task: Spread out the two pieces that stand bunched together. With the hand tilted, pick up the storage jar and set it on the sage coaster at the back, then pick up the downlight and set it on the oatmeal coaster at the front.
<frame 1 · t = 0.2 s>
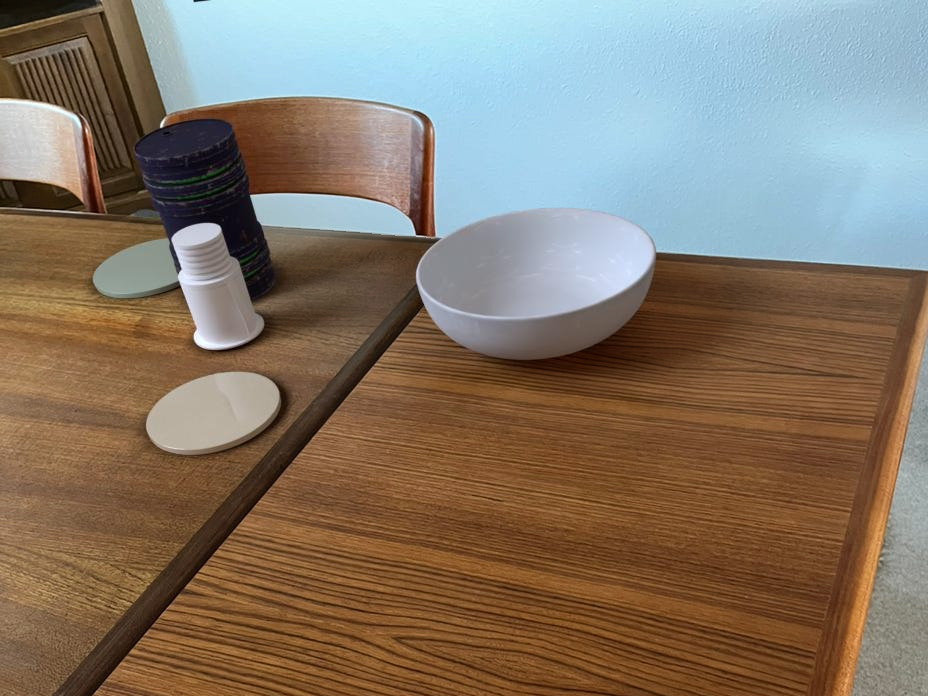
far coaster: (152, 269, 108), on the table
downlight: (230, 335, 96), on the table
near coaster: (215, 414, 86), on the table
serving bowl: (540, 330, 89), on the table
storage jar: (232, 287, 103), on the table
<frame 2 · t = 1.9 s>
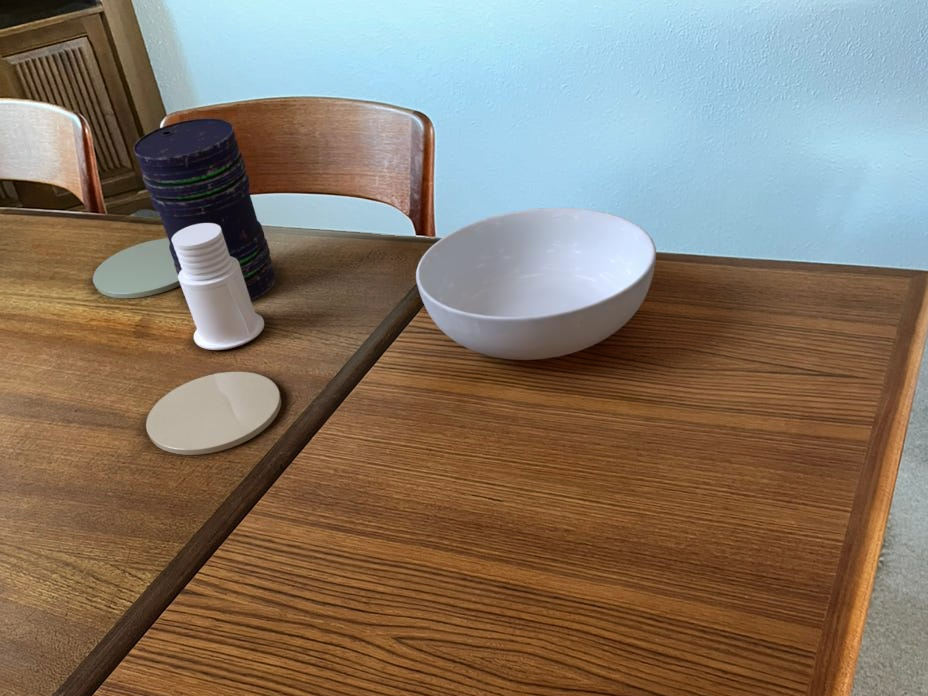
nothing on the table moved.
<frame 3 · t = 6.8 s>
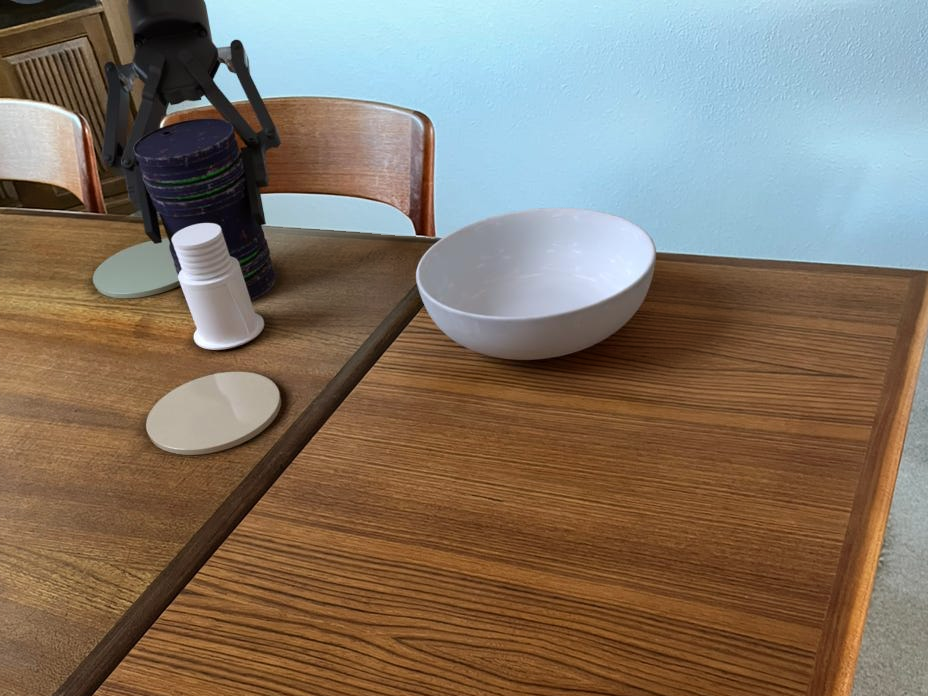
hand: (206, 228, 95), 7 cm above the table, tool tilted 45°, fingers closed on storage jar, 10 cm apart
storage jar: (232, 287, 103), on the table, touching gripper
everything else where it was.
when the fingers open (8 cm above the table, at t = 15.2 s): storage jar stays where it is, resting on far coaster.
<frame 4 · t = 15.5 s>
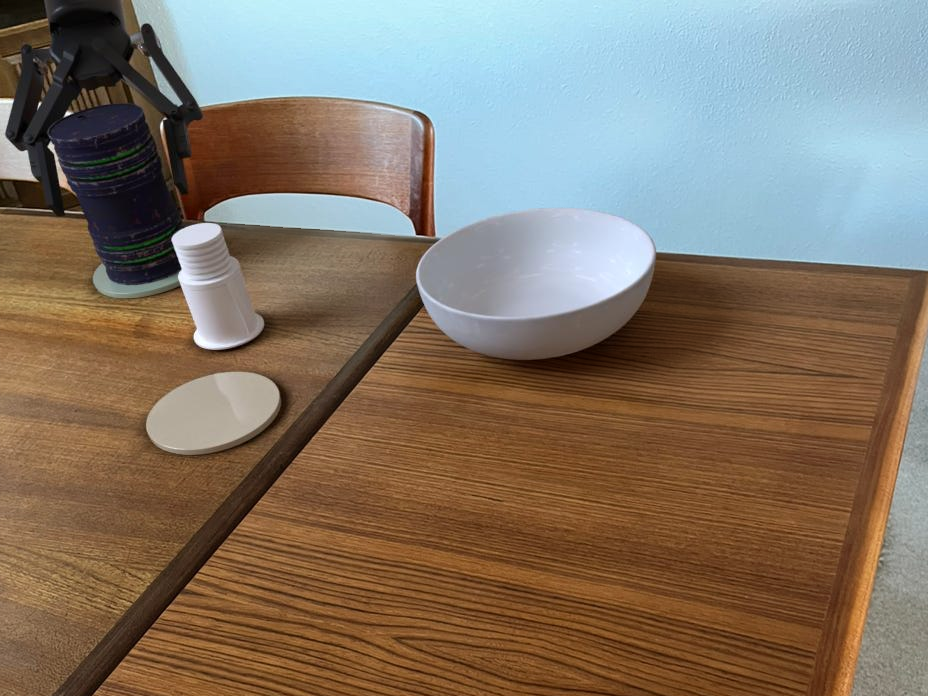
hand: (118, 200, 100), 9 cm above the table, tool tilted 45°, fingers open, 12 cm apart
storage jar: (151, 265, 108), resting on far coaster
everything else where it was.
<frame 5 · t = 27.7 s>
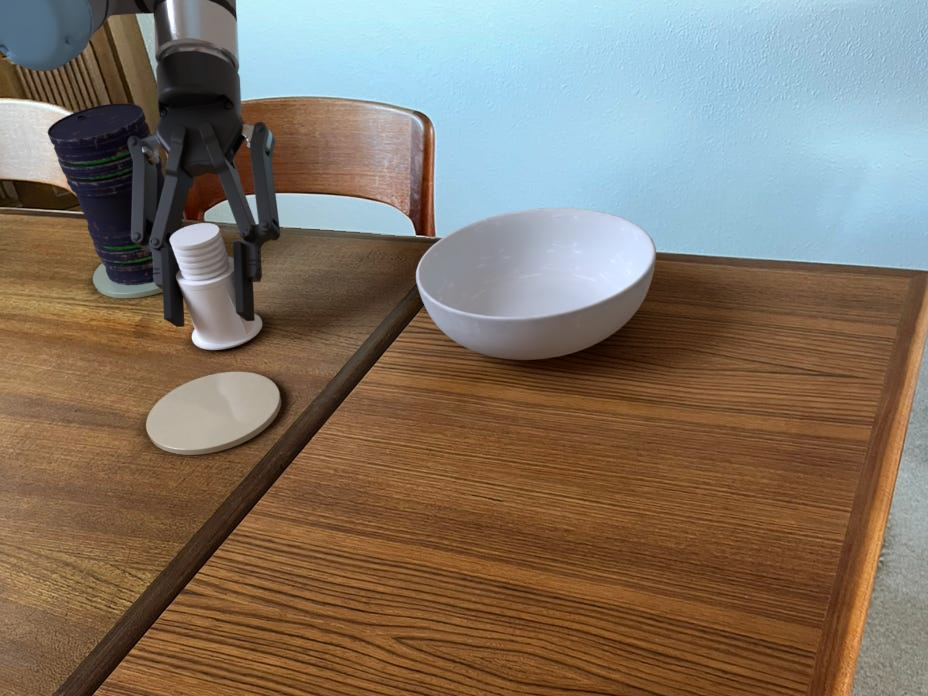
hand: (209, 319, 91), 4 cm above the table, tool tilted 45°, fingers closed on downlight, 6 cm apart
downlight: (228, 335, 96), on the table, touching gripper
everything else where it was.
when the fingers open (4 cm above the table, at t = 35.5 s): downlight stays where it is, resting on near coaster.
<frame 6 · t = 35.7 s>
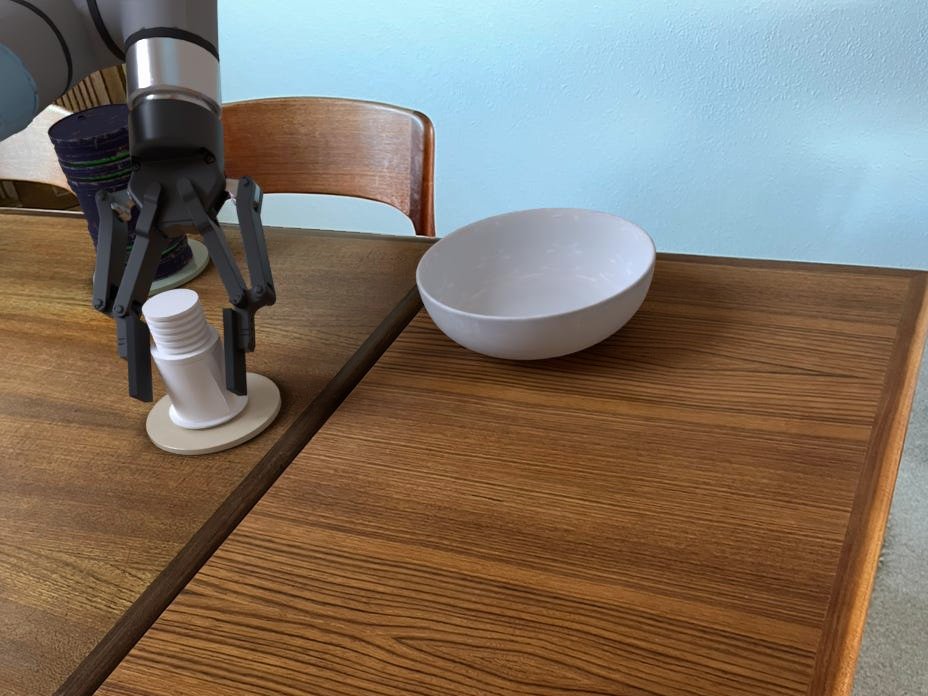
hand: (188, 395, 81), 4 cm above the table, tool tilted 45°, fingers open, 8 cm apart
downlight: (210, 410, 86), resting on near coaster
everything else where it was.
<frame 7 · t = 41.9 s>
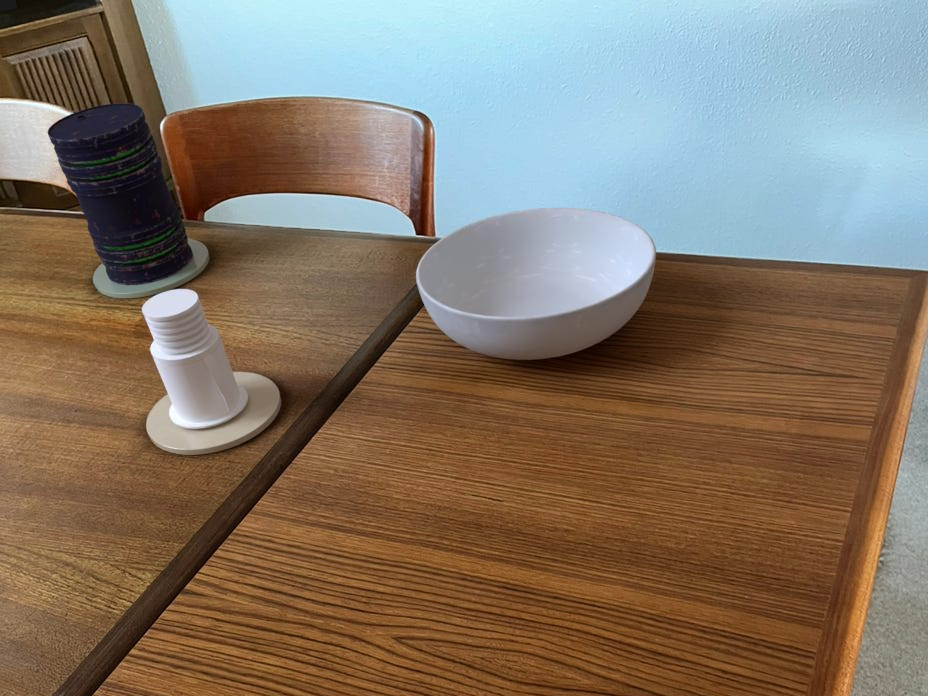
nothing on the table moved.
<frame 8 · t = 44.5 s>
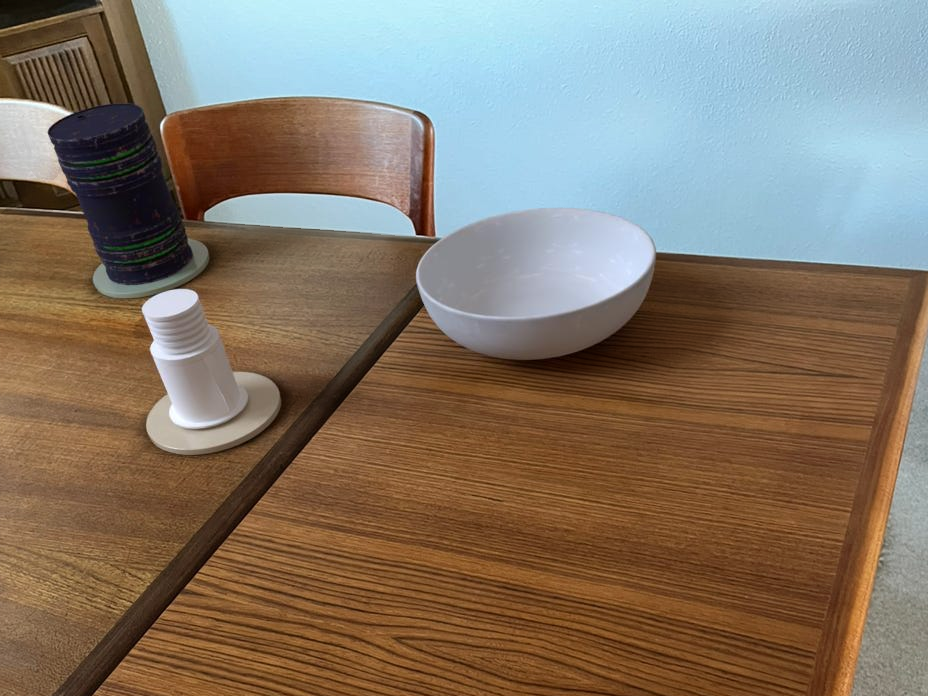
nothing on the table moved.
at the end: storage jar 0.0 cm off-centre on the far coaster, point 0.4 cm above the far coaster's base; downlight 0.3 cm off-centre on the near coaster, point 0.4 cm above the near coaster's base; storage jar tilted 0° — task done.
